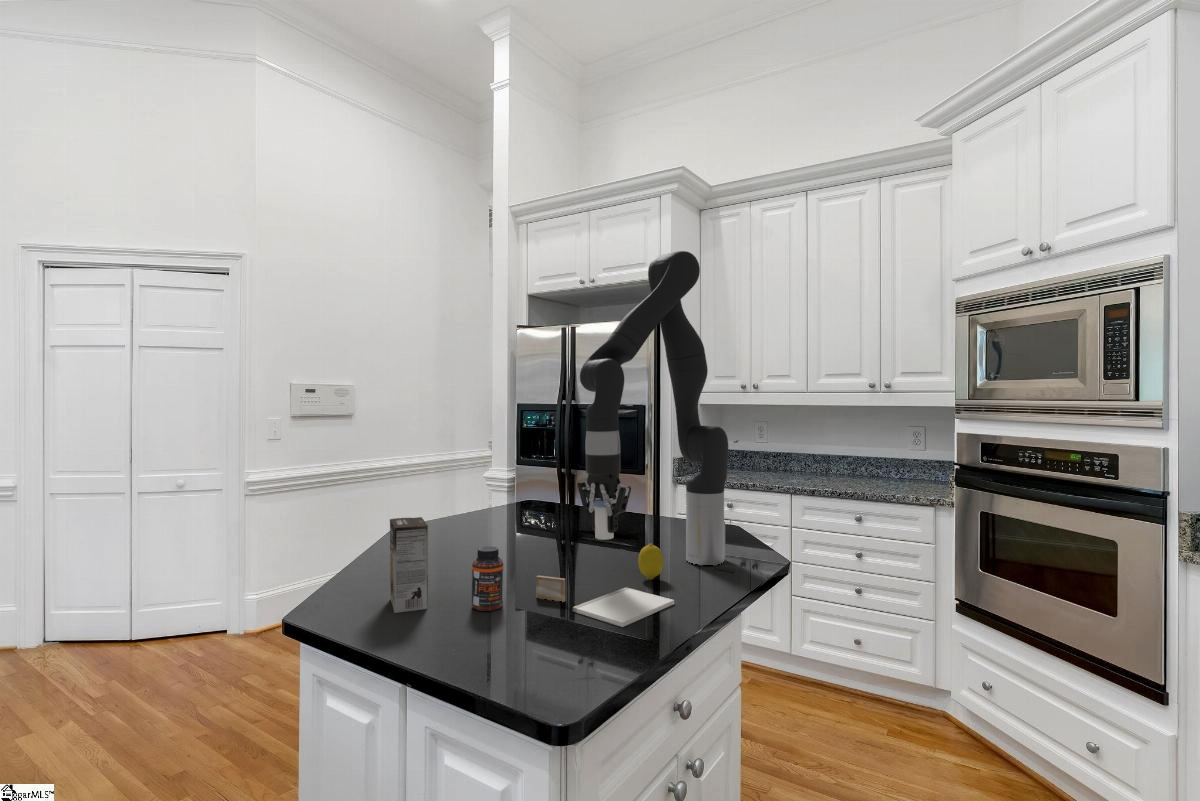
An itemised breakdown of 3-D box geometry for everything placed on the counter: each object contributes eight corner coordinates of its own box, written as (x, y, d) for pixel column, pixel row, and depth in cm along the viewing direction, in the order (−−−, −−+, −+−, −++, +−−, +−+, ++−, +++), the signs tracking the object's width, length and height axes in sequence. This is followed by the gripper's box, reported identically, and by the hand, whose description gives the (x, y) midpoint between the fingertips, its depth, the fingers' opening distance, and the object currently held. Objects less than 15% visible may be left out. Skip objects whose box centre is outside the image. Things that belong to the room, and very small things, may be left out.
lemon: (662, 584, 133) (662, 547, 133) (636, 582, 135) (636, 545, 135) (664, 576, 139) (664, 541, 139) (640, 575, 140) (640, 540, 140)
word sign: (537, 597, 125) (538, 575, 125) (565, 600, 123) (565, 578, 123) (536, 598, 124) (536, 576, 124) (563, 602, 122) (563, 579, 122)
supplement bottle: (476, 614, 115) (476, 553, 115) (468, 604, 120) (468, 546, 120) (507, 609, 118) (507, 549, 118) (497, 600, 123) (497, 543, 123)
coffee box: (389, 599, 124) (389, 518, 123) (422, 595, 126) (422, 515, 126) (393, 613, 115) (393, 527, 115) (428, 609, 118) (428, 524, 118)
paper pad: (626, 591, 129) (626, 587, 129) (674, 604, 121) (674, 599, 121) (572, 611, 116) (572, 607, 116) (622, 627, 109) (622, 622, 109)
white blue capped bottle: (603, 534, 137) (602, 497, 137) (618, 536, 134) (617, 499, 134) (590, 537, 134) (590, 500, 134) (605, 540, 131) (604, 502, 131)
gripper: (639, 452, 132) (640, 532, 132) (590, 448, 141) (591, 523, 142) (617, 455, 126) (618, 539, 127) (567, 451, 136) (568, 529, 136)
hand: (604, 530), depth 134 cm, fingers closed on white blue capped bottle, 4 cm apart
